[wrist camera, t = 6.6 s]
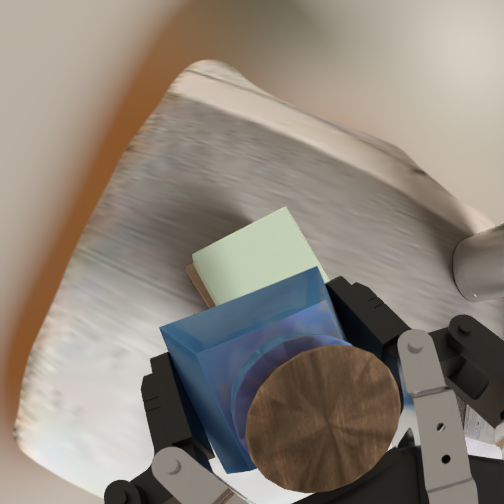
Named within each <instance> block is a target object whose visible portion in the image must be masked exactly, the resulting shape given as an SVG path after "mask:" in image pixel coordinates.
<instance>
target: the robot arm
mask: <svg viewBox="0 0 504 504" xmlns="http://www.w3.org/2000/svg"><path fill="white" fill-rule="evenodd" d="M453 273H454V278H455V282H456V284H457V287H458V289H459V291H460V292H461V294H462V295H463V296H464V297H465V298H466V299H468V300H469V301H472V302H478V301H484V300H490V299H497V298H503V297H504V224H501V225H499V226H496V227H494V228H492V229H489V230H487V231H484V232H481V233H479V234H476V235H474V236H471V237H469V238H466V239H464V240H462V241H461V242H460V243H459V244H458V245H457V247H456V249H455V252H454V256H453ZM325 285H326V288H327V290H328V293H329V295H330V298H331V300H332V303H333V305H334V308H335V310H336V313H337V315H338V318H339V320H340V323H341V325H342V328H343V330H344V333H345V336H346V338H347V341H348V343H350V344H351V345H352V346H354V347H356V348H359V349H362V350H364V351H367V352H370V353H372V354H373V355H375V356H376V357H377V358H378V359H379V360H380V361H381V362H383V363H384V364H385V365H386V366H387V367H388V368H389V370H390V372H391V374H392V376H393V378H394V379H395V381H396V383H397V385H398V389H399V396H400V403H401V411H400V417H399V423H398V429H397V431H396V433H395V436H394V438H393V440H392V447H393V448H392V449H390V450H389V451H387V452H386V453H385V454H384V455H383V456H382V457H381V459H380V460H379V461H378V462H377V463H376V465H375V466H374V467H373V468H372V469H371V470H369V471H368V472H367V473H365V474H364V475H362V476H361V477H360V478H358V479H357V480H355V481H354V482H352V483H350V484H347V485H345V486H342V487H340V488H337V489H334V490H332V491H326V492H317V493H314V494H312V495H310V496H308V497H305V498H303V499H301V500H299V501H297V502H294V503H292V504H504V341H503V340H502V339H500V338H499V337H498V336H497V335H495V334H494V333H493V332H491V331H490V330H489V329H488V328H486V327H485V326H484V325H482V324H481V323H480V322H478V321H477V320H476V319H474V318H473V317H471V316H468V315H458V316H455V317H454V318H453V319H452V320H451V321H450V324H449V326H448V327H446V328H443V329H440V330H437V331H434V332H430V333H426V332H424V331H422V330H418V329H411V328H410V327H409V326H407V325H406V324H405V323H404V322H403V321H402V320H401V319H400V318H399V317H398V316H397V315H396V314H395V313H394V312H393V311H392V310H391V309H390V308H389V307H388V306H387V305H386V304H384V302H383V301H382V300H381V299H380V298H379V297H377V295H376V294H375V293H374V292H373V291H372V290H371V289H370V288H368V287H366V286H364V285H362V284H359V283H357V282H356V283H354V284H352V285H351V284H350V283H349V282H348V281H347V280H346V279H345V278H343V277H342V276H339V277H337V278H335V279H333V280H331V281H329V282H327V283H325ZM150 363H151V368H152V372H153V373H152V374H149V375H146V376H144V377H143V381H142V386H141V393H142V398H143V402H144V408H145V411H146V417H147V421H148V425H149V430H150V434H151V438H152V442H153V446H154V458H153V461H152V464H151V465H150V467H149V468H148V469H147V470H146V471H145V472H143V473H142V474H140V475H139V476H137V477H136V478H134V479H133V480H131V481H130V482H128V481H126V480H117V481H114V482H112V483H111V484H109V485H108V487H107V488H106V490H105V493H104V501H105V504H255V503H254V502H252V501H251V500H249V499H248V498H246V497H245V496H244V495H242V494H241V493H239V492H238V491H237V490H235V489H234V488H233V487H231V486H230V485H229V484H227V483H226V482H225V481H224V480H222V479H221V478H220V477H219V476H217V475H216V474H215V473H214V472H213V471H212V468H211V466H210V463H209V461H208V460H209V459H212V458H215V455H214V453H213V450H212V447H211V445H210V442H209V440H208V437H207V434H206V432H205V429H204V427H203V425H202V423H201V421H200V419H199V417H198V415H197V413H196V411H195V409H194V407H193V405H192V403H191V401H190V399H189V397H188V395H187V393H186V391H185V389H184V386H183V384H182V382H181V380H180V377H179V375H178V373H177V371H176V368H175V366H174V363H173V361H172V359H171V356H170V354H169V352H166V353H164V354H161V355H159V356H156V357H153V358H151V359H150ZM447 386H448V387H447ZM455 394H456V395H458V396H459V397H460V398H461V399H462V400H463V401H464V402H465V403H466V404H468V405H469V406H470V407H471V408H472V409H473V410H474V411H475V412H476V413H477V414H479V415H480V416H481V417H482V418H483V419H484V420H485V421H486V422H487V423H488V424H489V425H491V426H492V427H493V428H494V429H495V440H494V442H495V445H496V446H498V447H500V448H501V451H502V460H501V459H493V458H486V457H479V456H473V455H468V453H467V447H466V442H465V436H464V431H463V426H462V421H461V417H460V412H459V408H458V404H457V400H456V396H455Z"/></svg>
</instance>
